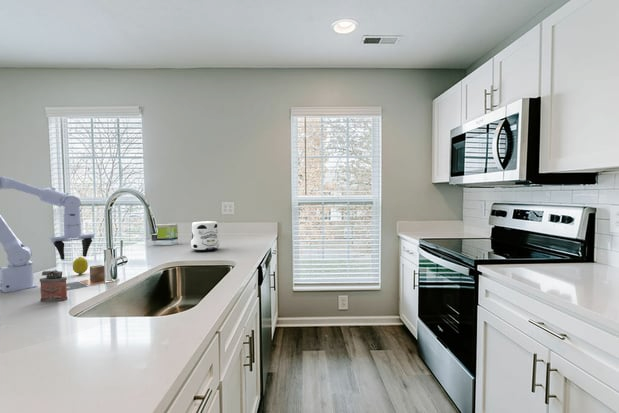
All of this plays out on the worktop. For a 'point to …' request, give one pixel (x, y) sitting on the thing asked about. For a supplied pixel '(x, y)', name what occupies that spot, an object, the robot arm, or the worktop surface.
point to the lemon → (80, 265)
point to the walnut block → (97, 273)
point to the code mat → (74, 285)
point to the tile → (94, 283)
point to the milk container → (204, 236)
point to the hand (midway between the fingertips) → (73, 257)
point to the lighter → (53, 287)
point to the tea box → (166, 235)
